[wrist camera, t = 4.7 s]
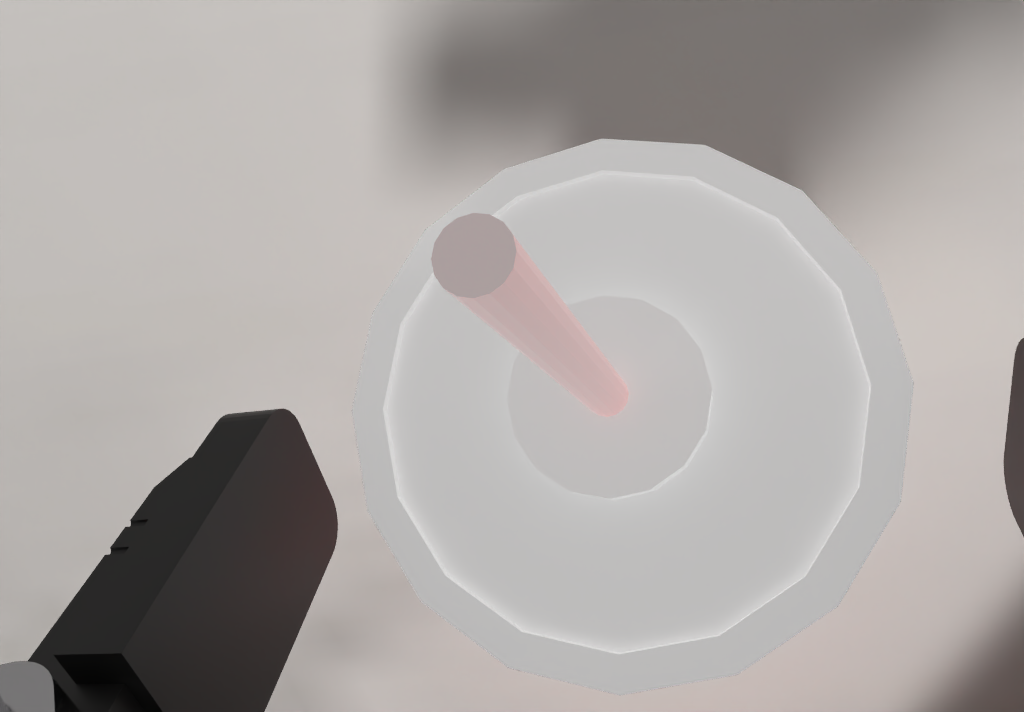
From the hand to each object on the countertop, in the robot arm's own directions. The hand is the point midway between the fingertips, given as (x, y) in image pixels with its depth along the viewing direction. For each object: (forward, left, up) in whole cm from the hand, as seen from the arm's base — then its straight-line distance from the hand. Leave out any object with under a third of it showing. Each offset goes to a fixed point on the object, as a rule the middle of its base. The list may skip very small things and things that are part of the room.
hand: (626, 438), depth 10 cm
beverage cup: (0, 0, -9) cm, 9 cm away
